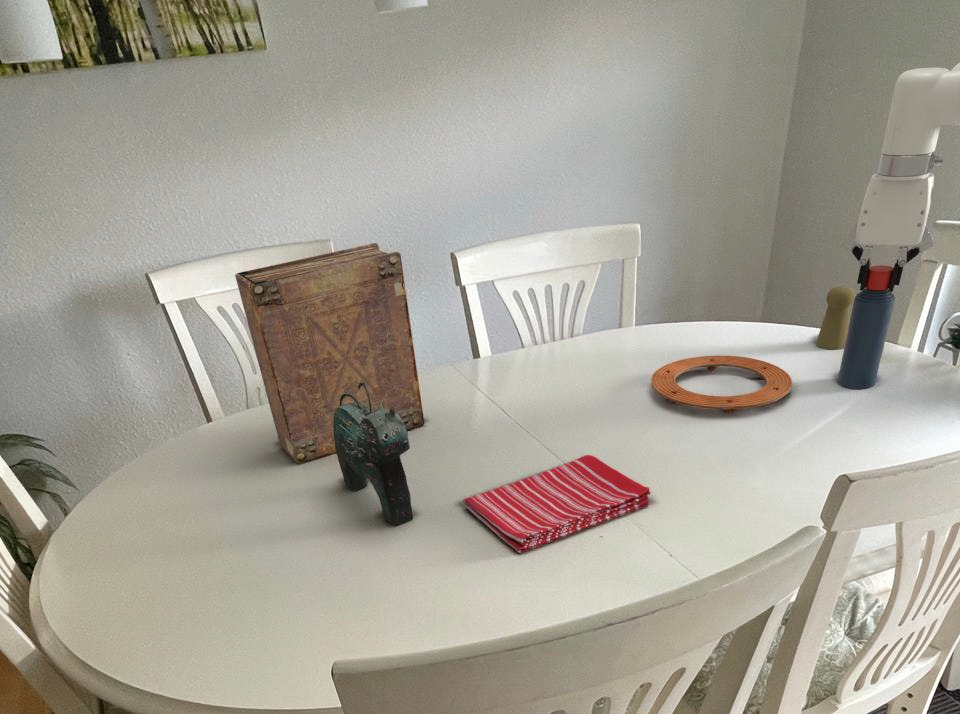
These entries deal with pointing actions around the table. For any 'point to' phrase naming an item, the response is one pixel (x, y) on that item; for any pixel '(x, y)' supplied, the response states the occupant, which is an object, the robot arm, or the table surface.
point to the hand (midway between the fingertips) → (877, 287)
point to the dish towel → (557, 502)
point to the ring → (771, 392)
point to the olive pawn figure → (836, 318)
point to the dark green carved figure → (374, 454)
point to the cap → (879, 277)
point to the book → (331, 342)
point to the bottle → (865, 338)
